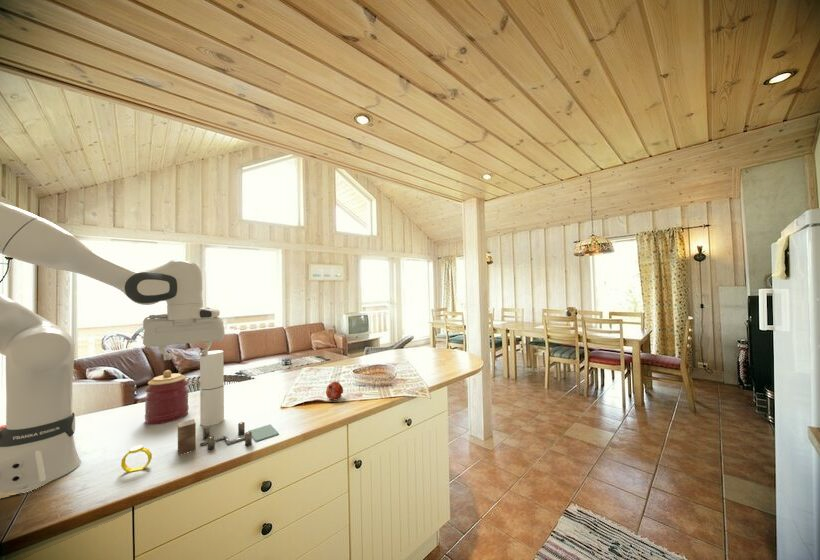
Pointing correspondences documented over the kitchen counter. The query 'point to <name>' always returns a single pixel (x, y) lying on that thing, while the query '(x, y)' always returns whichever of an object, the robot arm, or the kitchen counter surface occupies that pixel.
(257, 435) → the mat
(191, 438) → the block
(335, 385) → the pomegranate
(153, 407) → the canister
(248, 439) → the gates
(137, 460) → the kitchen counter surface
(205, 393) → the cylindrical container
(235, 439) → the wire
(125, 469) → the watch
